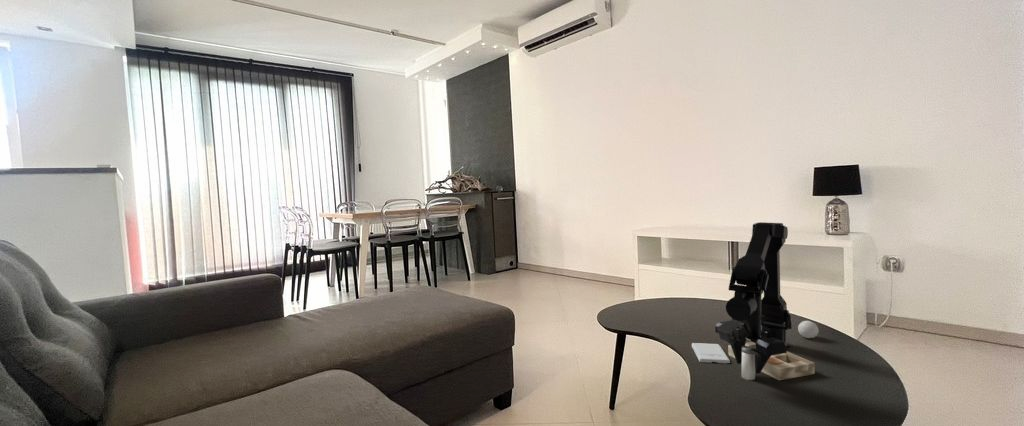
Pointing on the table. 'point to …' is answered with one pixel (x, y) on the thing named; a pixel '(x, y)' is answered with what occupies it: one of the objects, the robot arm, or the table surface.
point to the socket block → (783, 365)
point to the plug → (748, 363)
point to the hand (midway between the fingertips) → (748, 368)
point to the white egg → (808, 329)
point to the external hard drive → (710, 353)
